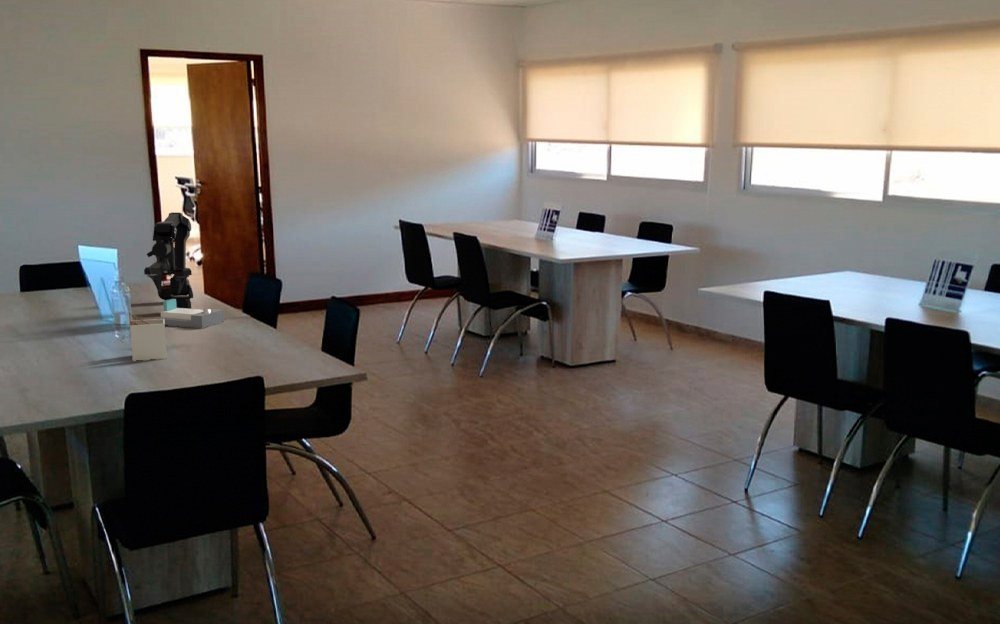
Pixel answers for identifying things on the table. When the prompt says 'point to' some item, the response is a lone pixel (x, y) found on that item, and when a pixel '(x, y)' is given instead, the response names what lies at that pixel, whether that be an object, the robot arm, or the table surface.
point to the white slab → (177, 311)
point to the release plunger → (206, 310)
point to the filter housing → (198, 319)
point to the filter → (165, 288)
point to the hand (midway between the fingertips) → (169, 292)
